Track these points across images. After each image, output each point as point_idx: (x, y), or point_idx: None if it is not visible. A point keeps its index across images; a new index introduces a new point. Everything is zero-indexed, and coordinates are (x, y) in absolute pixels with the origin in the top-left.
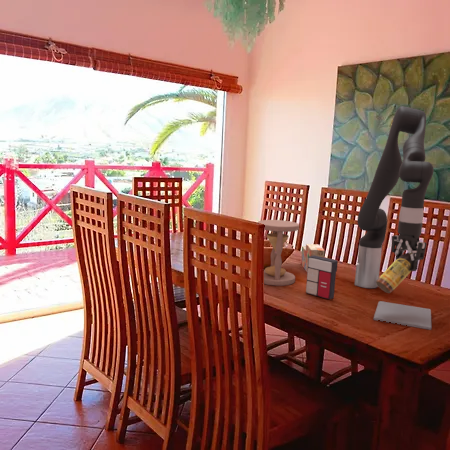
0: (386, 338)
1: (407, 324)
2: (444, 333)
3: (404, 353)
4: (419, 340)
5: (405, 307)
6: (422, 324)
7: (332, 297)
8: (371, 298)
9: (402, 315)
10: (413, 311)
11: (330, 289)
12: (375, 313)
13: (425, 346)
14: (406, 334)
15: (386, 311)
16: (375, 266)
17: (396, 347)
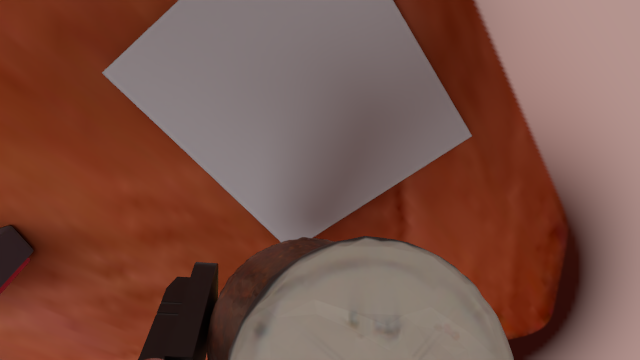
0: None
1: (391, 183)
2: (518, 112)
3: None
4: (486, 239)
5: (237, 16)
6: (432, 140)
7: (19, 238)
8: (20, 46)
9: (321, 134)
10: (302, 31)
11: (3, 284)
12: (258, 218)
13: (519, 255)
14: (435, 240)
15: (254, 160)
16: None
17: None
